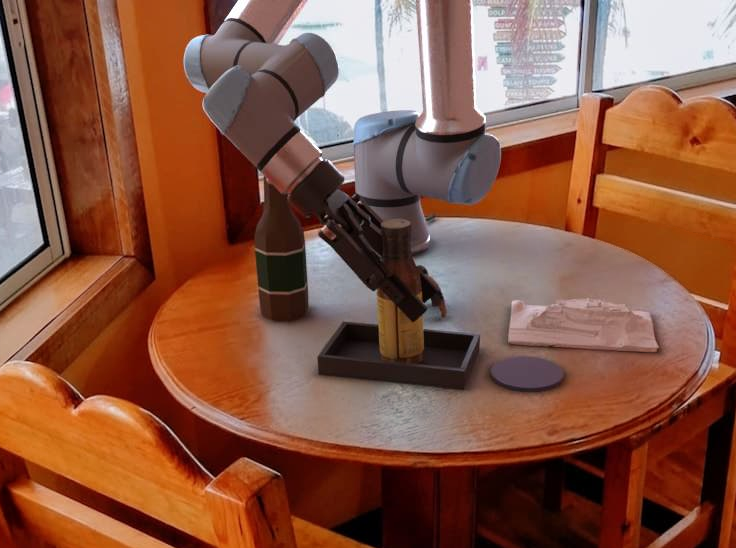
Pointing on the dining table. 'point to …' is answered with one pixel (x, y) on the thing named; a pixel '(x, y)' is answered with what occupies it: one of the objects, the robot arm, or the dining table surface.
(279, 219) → the beer bottle
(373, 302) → the dining table surface
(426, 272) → the brown broken pot
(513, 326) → the terrain model
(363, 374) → the tray
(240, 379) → the dining table surface
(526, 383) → the coaster
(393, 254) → the sauce bottle
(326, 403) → the dining table surface
